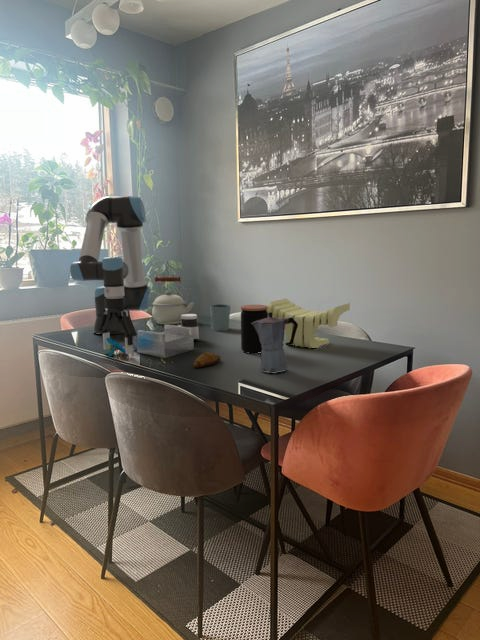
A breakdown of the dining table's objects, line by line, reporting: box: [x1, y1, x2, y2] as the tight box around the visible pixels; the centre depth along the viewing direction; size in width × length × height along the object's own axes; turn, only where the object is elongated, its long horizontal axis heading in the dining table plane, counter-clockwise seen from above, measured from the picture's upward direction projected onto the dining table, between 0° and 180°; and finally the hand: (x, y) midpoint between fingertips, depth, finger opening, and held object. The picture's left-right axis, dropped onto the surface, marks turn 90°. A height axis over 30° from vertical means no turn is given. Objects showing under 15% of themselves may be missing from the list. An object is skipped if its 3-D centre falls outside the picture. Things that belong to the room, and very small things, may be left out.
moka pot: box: [252, 312, 298, 372], centre depth 157 cm, size 10×15×20 cm, turn 95°
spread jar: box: [177, 313, 200, 343], centre depth 208 cm, size 12×11×12 cm
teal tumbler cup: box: [209, 303, 231, 332], centre depth 233 cm, size 10×10×12 cm
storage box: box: [132, 324, 195, 359], centre depth 191 cm, size 22×16×10 cm
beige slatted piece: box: [267, 298, 351, 349], centre depth 195 cm, size 30×16×18 cm, turn 53°
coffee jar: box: [240, 304, 268, 353], centre depth 186 cm, size 11×11×18 cm
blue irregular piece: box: [106, 337, 127, 357], centre depth 183 cm, size 11×6×10 cm
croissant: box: [192, 351, 221, 369], centre depth 168 cm, size 14×7×5 cm, turn 143°
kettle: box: [150, 276, 195, 325], centre depth 253 cm, size 25×18×25 cm
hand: (117, 351), depth 184 cm, fingers open, 13 cm apart
